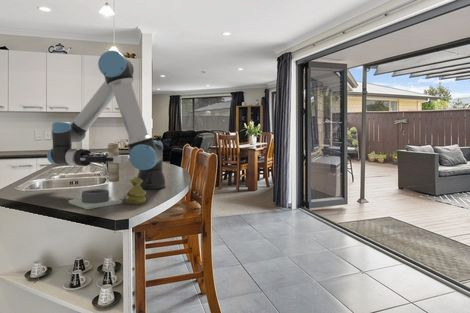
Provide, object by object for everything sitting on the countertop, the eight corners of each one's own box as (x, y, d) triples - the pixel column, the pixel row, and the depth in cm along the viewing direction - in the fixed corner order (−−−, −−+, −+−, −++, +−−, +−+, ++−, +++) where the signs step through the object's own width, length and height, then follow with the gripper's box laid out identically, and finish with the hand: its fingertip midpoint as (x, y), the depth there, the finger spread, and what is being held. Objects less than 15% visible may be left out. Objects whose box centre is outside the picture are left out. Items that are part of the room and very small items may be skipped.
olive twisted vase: (140, 199, 131) (140, 175, 131) (149, 203, 126) (149, 178, 125) (123, 202, 126) (123, 177, 125) (131, 205, 121) (132, 179, 120)
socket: (103, 197, 133) (103, 187, 132) (122, 203, 124) (122, 191, 124) (68, 203, 122) (68, 191, 121) (86, 209, 113) (86, 196, 113)
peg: (115, 180, 139) (114, 143, 138) (121, 181, 137) (120, 143, 135) (106, 181, 136) (105, 143, 135) (112, 182, 133) (111, 144, 132)
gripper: (94, 164, 149) (136, 166, 142) (64, 167, 133) (110, 170, 126) (93, 148, 149) (136, 149, 142) (63, 150, 132) (109, 151, 125)
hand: (124, 159), depth 134 cm, fingers closed on peg, 4 cm apart
